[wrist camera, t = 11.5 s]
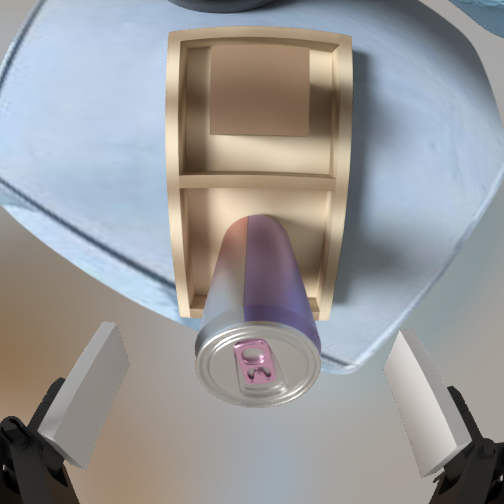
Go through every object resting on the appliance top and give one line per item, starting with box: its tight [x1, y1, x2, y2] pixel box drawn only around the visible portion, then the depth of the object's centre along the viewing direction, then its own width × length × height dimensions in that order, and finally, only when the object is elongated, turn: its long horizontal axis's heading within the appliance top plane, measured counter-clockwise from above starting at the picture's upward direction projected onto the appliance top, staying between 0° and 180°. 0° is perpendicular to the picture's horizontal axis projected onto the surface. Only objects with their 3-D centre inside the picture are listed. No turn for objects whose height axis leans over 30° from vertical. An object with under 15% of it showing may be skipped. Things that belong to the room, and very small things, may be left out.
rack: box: [165, 26, 353, 320], centre depth 22 cm, size 25×14×3 cm, turn 179°
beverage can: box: [195, 215, 321, 408], centre depth 18 cm, size 6×6×15 cm
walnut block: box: [210, 45, 310, 137], centre depth 16 cm, size 5×5×9 cm
